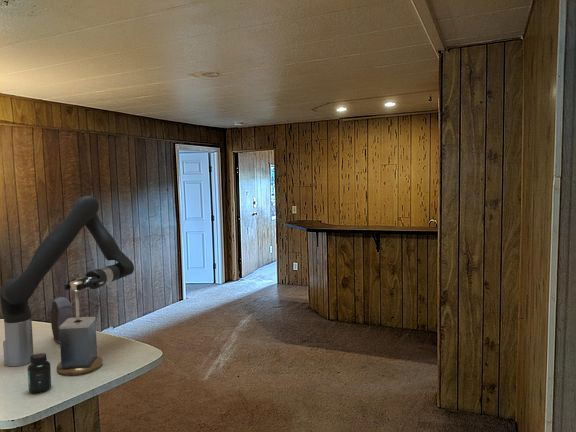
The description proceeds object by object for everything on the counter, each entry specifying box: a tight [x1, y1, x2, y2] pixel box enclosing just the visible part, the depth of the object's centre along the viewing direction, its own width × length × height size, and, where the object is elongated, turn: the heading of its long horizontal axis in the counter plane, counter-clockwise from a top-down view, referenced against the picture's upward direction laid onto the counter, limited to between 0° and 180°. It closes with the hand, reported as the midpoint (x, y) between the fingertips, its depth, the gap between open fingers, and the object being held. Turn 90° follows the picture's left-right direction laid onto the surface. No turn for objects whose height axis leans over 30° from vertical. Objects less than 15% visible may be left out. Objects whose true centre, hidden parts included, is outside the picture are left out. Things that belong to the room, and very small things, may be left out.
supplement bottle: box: [27, 352, 52, 395], centre depth 151 cm, size 7×7×12 cm
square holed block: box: [56, 316, 104, 377], centre depth 169 cm, size 16×16×18 cm
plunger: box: [69, 281, 84, 322], centre depth 167 cm, size 7×7×22 cm
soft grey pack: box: [50, 296, 76, 343], centre depth 197 cm, size 15×8×20 cm, turn 42°
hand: (71, 287), depth 164 cm, fingers closed on plunger, 4 cm apart
